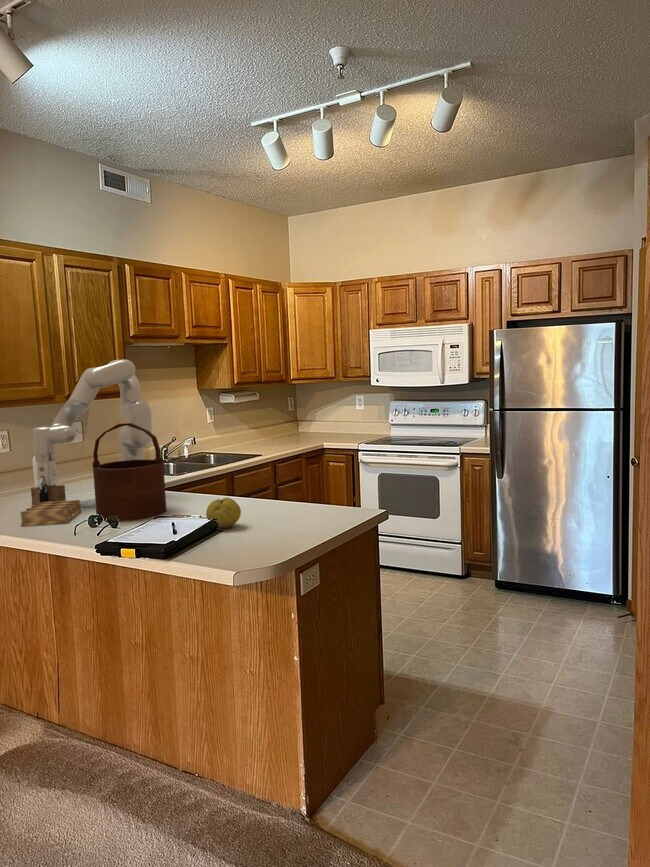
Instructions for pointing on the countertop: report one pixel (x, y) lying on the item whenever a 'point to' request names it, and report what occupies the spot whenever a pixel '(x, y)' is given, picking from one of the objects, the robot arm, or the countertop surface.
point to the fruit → (224, 512)
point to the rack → (50, 513)
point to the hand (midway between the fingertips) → (48, 499)
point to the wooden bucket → (130, 484)
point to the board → (49, 494)
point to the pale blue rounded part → (88, 503)
